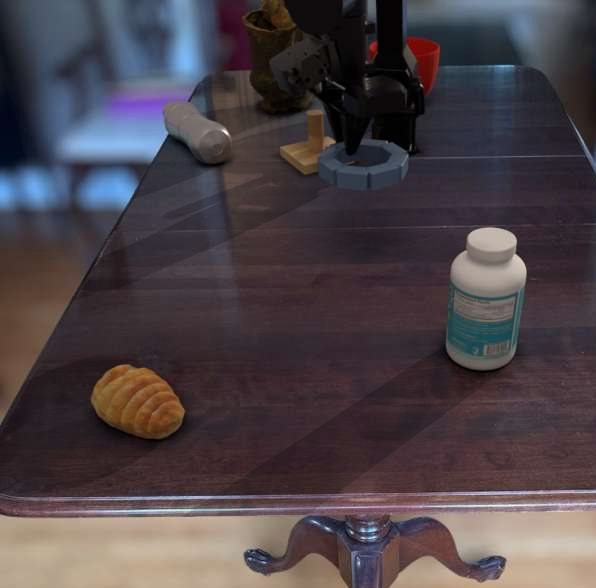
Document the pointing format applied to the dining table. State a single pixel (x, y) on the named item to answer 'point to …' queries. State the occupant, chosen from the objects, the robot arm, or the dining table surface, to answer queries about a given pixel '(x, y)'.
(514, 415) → the dining table surface
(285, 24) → the pottery vessel
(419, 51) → the ceramic cup
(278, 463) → the dining table surface
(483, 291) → the pill bottle
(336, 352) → the dining table surface
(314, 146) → the stand
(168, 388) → the pastry
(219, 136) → the plastic bottle
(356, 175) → the ring
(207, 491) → the dining table surface
